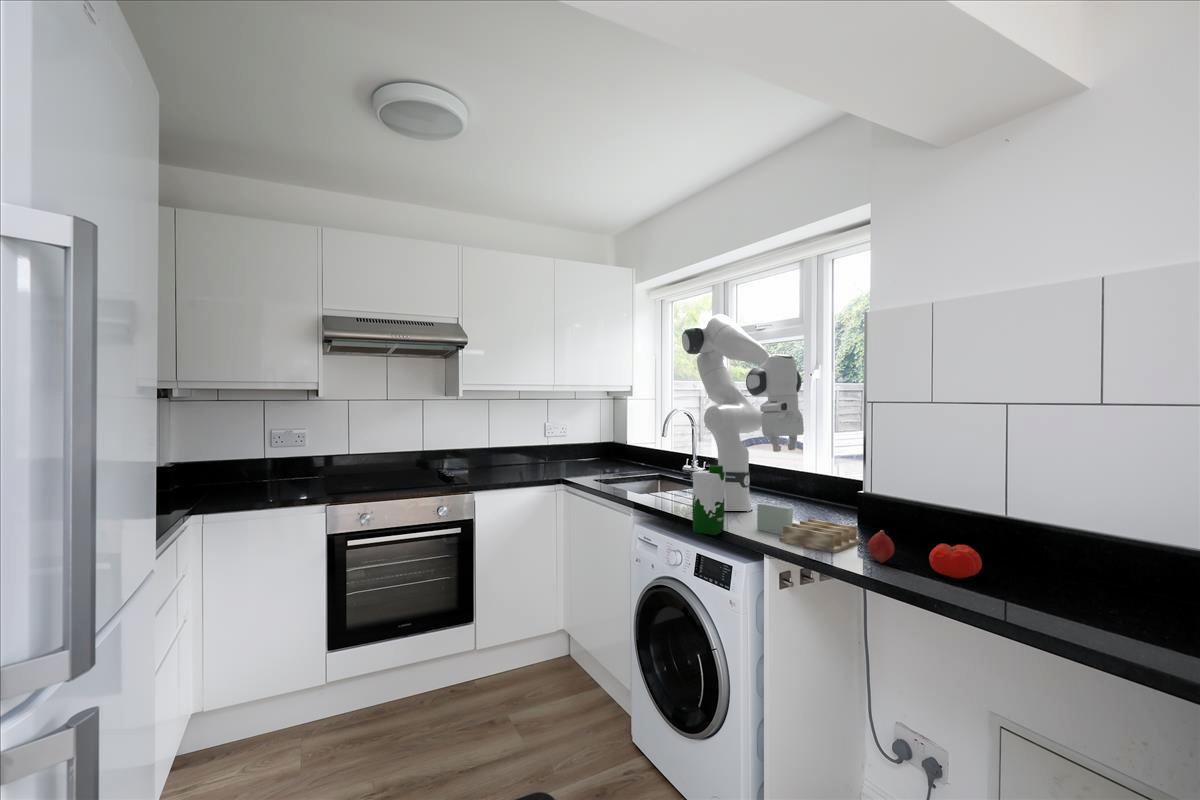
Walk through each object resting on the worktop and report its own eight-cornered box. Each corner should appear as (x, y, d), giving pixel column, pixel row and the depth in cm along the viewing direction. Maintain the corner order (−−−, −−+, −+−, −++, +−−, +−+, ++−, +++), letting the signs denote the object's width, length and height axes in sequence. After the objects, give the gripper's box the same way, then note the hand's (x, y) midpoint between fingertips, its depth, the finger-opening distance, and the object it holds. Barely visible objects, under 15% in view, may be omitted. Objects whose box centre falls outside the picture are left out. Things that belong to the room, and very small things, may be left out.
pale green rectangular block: (757, 529, 168) (757, 503, 168) (762, 528, 170) (762, 502, 170) (787, 535, 160) (787, 508, 160) (792, 534, 162) (792, 507, 163)
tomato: (925, 575, 124) (925, 546, 124) (935, 565, 132) (935, 538, 132) (977, 585, 117) (977, 555, 117) (984, 574, 125) (984, 546, 126)
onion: (862, 560, 135) (862, 528, 135) (879, 558, 137) (880, 526, 137) (882, 566, 130) (882, 533, 130) (899, 564, 132) (900, 531, 132)
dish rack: (779, 541, 153) (779, 525, 153) (805, 532, 164) (805, 518, 164) (836, 552, 141) (836, 535, 142) (860, 543, 152) (860, 527, 152)
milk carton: (717, 536, 157) (718, 467, 158) (688, 532, 162) (689, 465, 162) (727, 530, 165) (728, 465, 165) (699, 527, 170) (700, 463, 170)
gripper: (789, 406, 176) (790, 449, 176) (757, 406, 162) (758, 452, 162) (808, 405, 172) (809, 449, 171) (776, 405, 158) (778, 452, 157)
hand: (784, 451), depth 166 cm, fingers open, 8 cm apart
